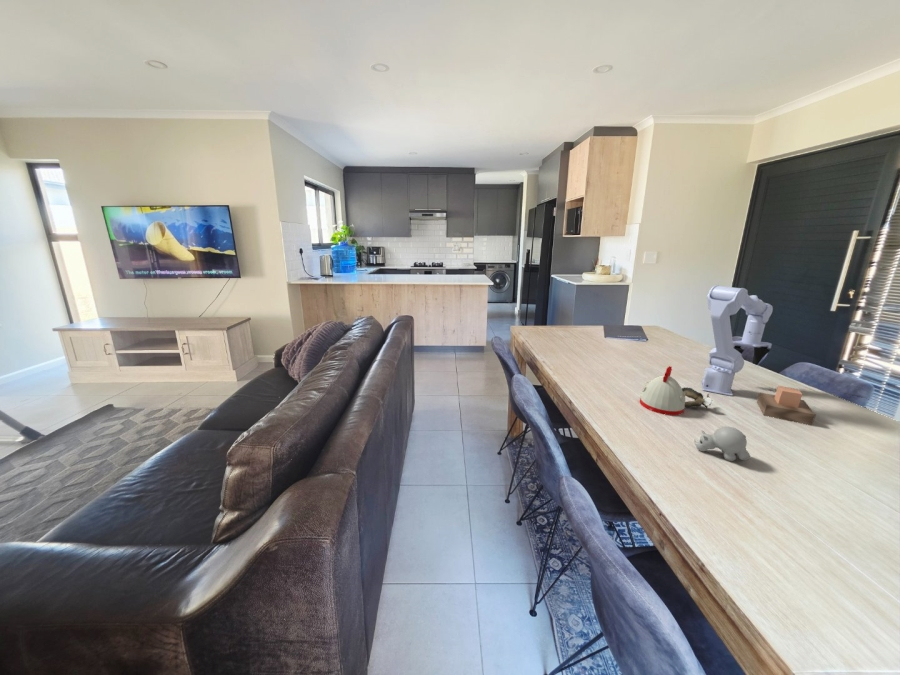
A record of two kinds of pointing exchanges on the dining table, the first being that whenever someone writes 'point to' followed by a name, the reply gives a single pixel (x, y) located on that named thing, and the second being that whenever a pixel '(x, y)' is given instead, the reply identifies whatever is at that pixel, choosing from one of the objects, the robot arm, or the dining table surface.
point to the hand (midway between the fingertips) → (744, 363)
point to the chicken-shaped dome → (663, 395)
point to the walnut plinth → (785, 410)
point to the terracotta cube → (788, 396)
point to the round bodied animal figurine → (725, 443)
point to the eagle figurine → (696, 398)
